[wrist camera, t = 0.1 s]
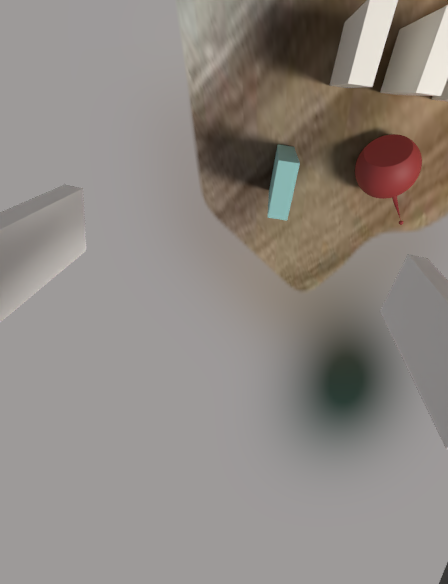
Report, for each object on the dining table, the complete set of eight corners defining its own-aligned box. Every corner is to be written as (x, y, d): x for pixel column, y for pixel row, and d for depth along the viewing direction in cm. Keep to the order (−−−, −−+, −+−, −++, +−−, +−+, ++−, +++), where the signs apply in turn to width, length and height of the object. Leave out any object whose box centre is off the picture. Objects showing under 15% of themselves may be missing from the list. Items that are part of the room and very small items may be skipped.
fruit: (350, 181, 40) (369, 233, 36) (347, 141, 35) (368, 196, 31) (406, 164, 38) (433, 217, 34) (411, 120, 34) (442, 174, 30)
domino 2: (329, 85, 34) (348, 83, 25) (344, 22, 31) (370, -4, 23) (347, 88, 34) (372, 86, 25) (364, 24, 31) (398, -1, 23)
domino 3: (380, 92, 34) (415, 92, 25) (399, 29, 31) (447, 5, 22) (398, 94, 33) (440, 96, 25) (419, 31, 31) (474, 8, 22)
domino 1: (269, 190, 40) (267, 217, 31) (277, 144, 37) (278, 160, 29) (284, 192, 40) (287, 220, 31) (294, 146, 37) (299, 163, 28)
